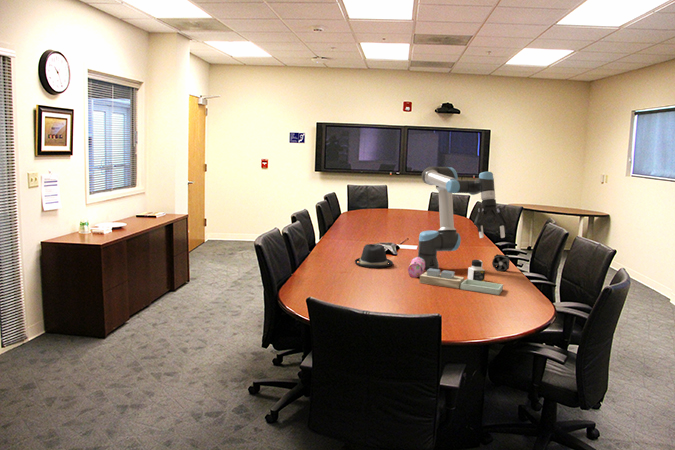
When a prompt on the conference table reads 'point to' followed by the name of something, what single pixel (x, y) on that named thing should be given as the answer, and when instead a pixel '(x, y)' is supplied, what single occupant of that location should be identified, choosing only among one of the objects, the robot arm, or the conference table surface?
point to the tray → (481, 286)
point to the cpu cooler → (501, 262)
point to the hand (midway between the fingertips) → (492, 237)
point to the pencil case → (416, 267)
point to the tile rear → (433, 272)
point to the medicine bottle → (476, 271)
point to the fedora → (373, 257)
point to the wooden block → (441, 281)
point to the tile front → (447, 274)
